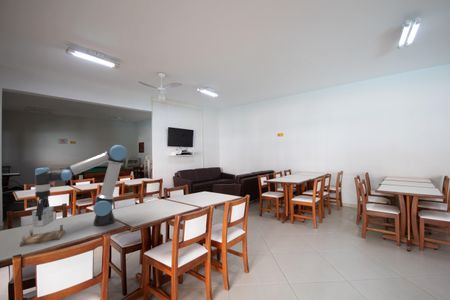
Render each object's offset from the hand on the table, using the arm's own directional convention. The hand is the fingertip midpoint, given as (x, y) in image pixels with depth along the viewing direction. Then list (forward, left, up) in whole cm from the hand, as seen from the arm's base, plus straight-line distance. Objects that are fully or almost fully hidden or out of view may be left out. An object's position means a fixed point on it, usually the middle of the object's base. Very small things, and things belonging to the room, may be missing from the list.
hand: (43, 222), depth 140 cm
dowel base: (0, 0, -11) cm, 11 cm away
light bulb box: (0, 0, -2) cm, 2 cm away
